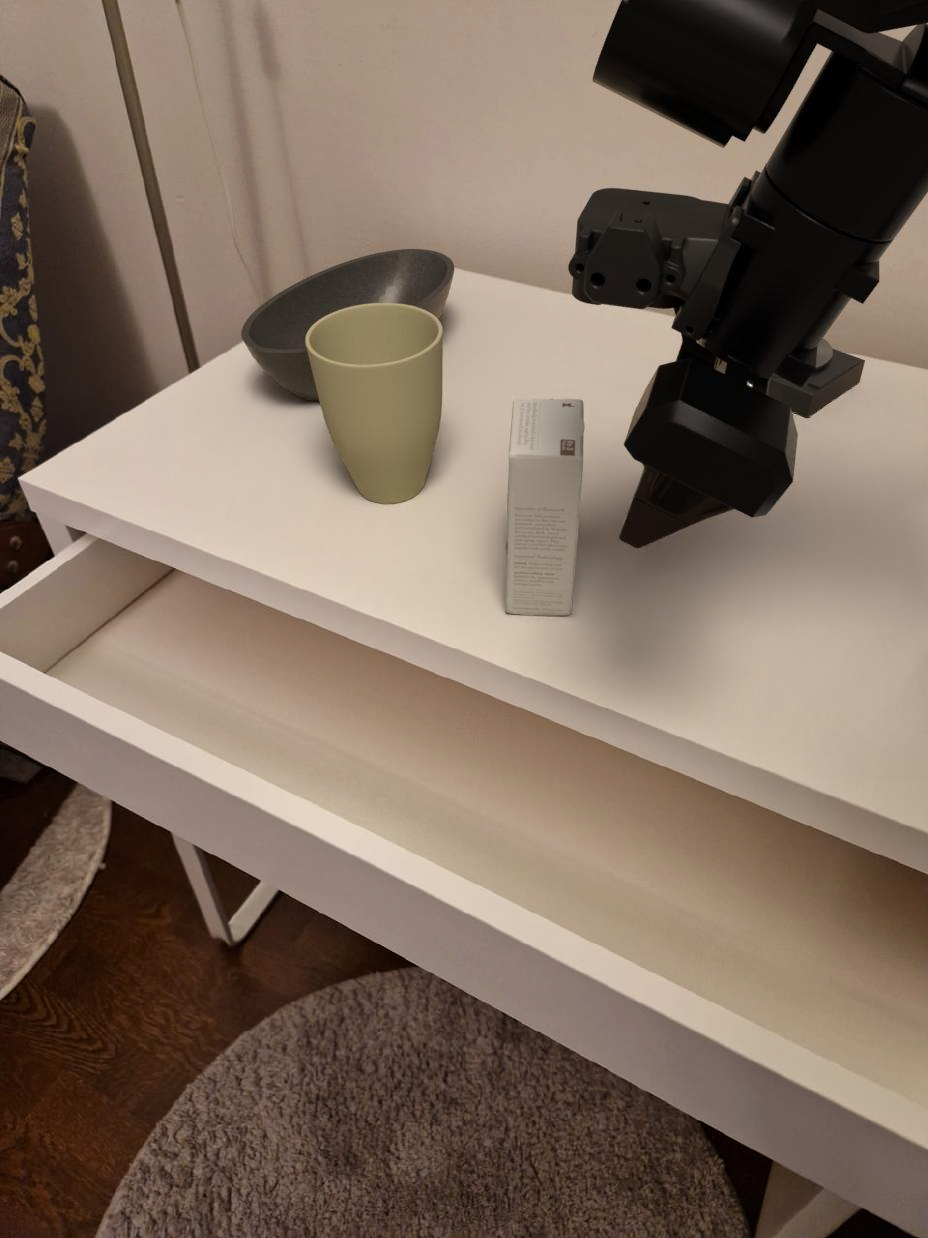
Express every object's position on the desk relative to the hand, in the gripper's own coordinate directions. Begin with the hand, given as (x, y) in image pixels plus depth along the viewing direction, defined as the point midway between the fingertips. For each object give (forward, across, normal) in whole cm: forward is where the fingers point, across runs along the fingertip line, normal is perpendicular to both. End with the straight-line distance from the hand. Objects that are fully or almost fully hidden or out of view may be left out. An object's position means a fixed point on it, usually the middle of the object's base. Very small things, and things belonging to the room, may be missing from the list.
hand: (644, 487), depth 49 cm
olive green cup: (+20, -14, -14) cm, 28 cm away
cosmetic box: (+14, -5, -1) cm, 15 cm away
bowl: (+23, -30, -22) cm, 44 cm away
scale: (+9, -35, +11) cm, 38 cm away
